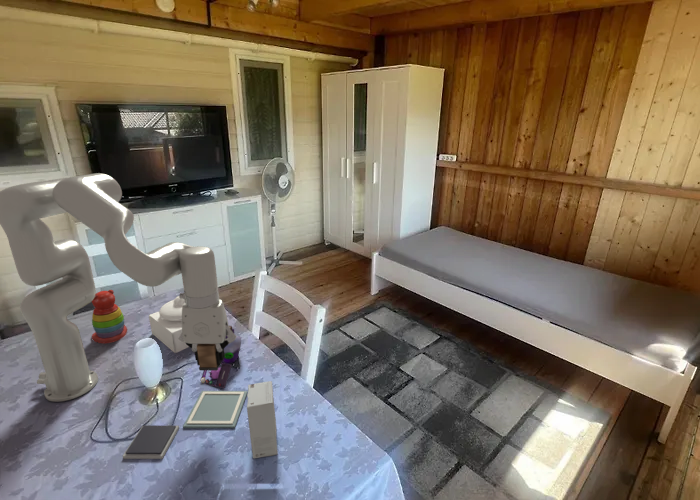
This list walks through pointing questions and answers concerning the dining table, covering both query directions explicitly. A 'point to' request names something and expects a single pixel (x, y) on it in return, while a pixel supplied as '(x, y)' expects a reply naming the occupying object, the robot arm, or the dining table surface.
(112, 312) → the stacking bear
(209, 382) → the purple toy box
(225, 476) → the dining table surface
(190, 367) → the dining table surface
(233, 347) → the potion bottle
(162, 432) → the ink pad
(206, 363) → the stamp
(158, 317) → the butter dish
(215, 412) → the board
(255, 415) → the skincare box
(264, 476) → the dining table surface
